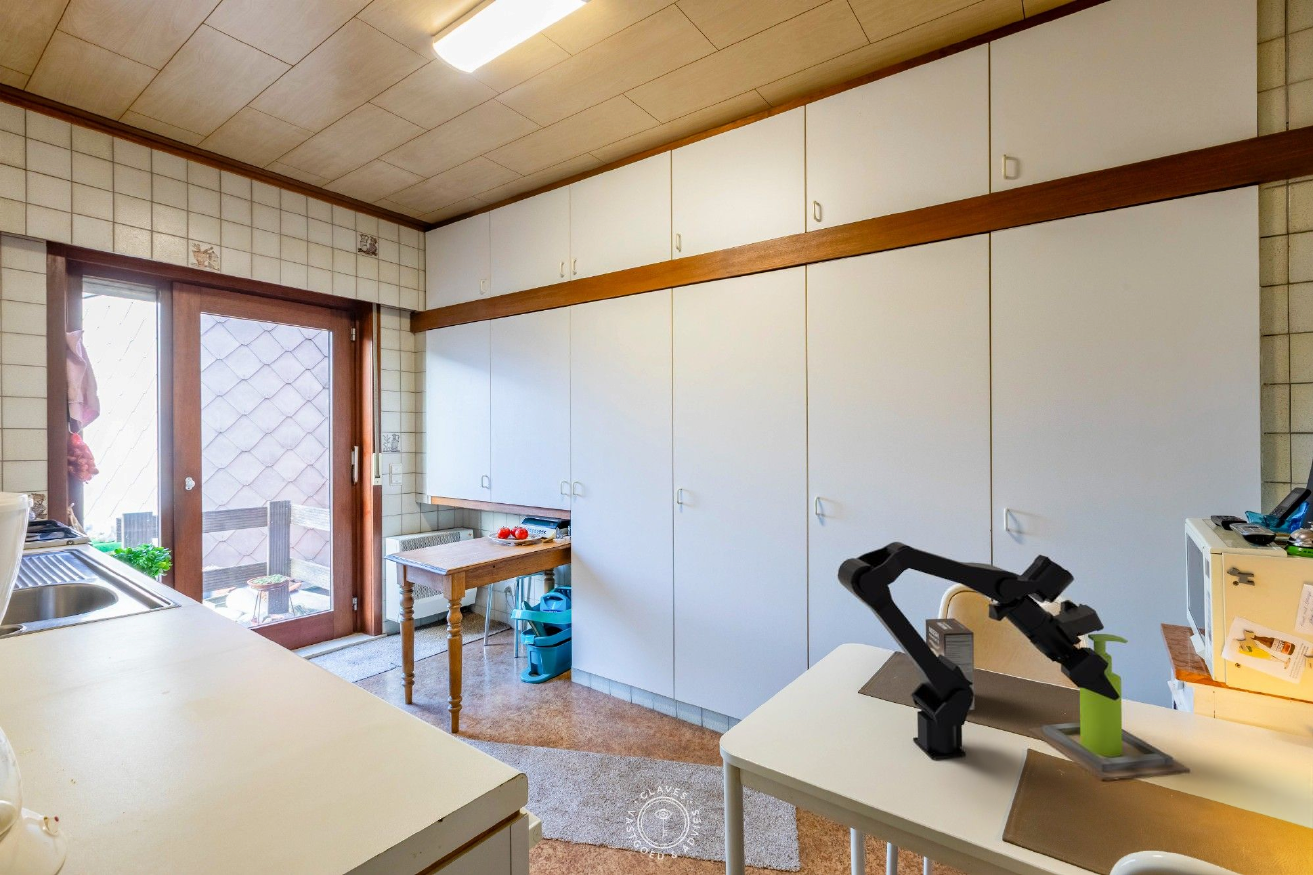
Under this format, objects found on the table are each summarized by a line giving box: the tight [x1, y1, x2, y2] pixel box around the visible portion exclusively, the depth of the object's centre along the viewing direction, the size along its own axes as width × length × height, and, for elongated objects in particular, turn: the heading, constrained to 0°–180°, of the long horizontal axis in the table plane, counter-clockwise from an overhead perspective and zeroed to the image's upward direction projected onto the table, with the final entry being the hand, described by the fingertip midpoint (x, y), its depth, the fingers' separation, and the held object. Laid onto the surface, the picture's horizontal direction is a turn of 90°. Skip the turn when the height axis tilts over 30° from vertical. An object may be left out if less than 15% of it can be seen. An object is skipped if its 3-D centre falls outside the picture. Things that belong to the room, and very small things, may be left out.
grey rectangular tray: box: [1028, 721, 1191, 781], centre depth 106 cm, size 16×16×2 cm
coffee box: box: [925, 617, 975, 711], centre depth 126 cm, size 9×6×16 cm
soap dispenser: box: [1079, 633, 1128, 757], centre depth 105 cm, size 6×7×20 cm
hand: (1103, 686), depth 105 cm, fingers open, 9 cm apart
